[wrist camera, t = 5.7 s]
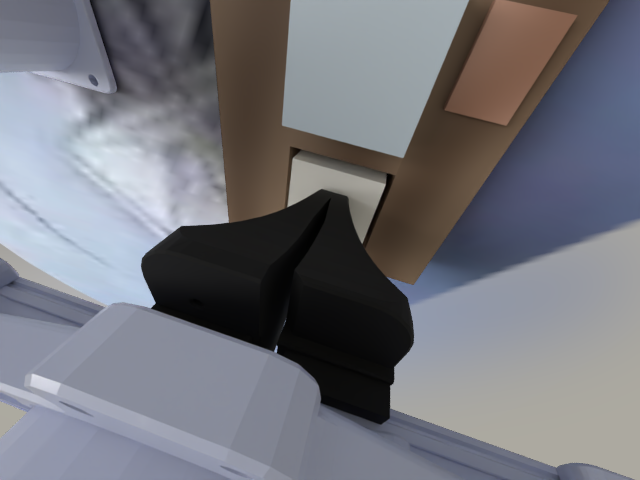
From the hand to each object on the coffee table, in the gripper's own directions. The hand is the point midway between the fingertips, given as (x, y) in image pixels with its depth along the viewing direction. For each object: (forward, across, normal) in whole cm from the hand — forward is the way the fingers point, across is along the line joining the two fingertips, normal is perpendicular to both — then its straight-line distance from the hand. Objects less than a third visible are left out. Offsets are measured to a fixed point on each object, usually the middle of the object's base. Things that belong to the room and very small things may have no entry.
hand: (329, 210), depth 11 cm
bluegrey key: (+1, 0, -6) cm, 6 cm away
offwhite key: (+3, 0, 0) cm, 3 cm away
